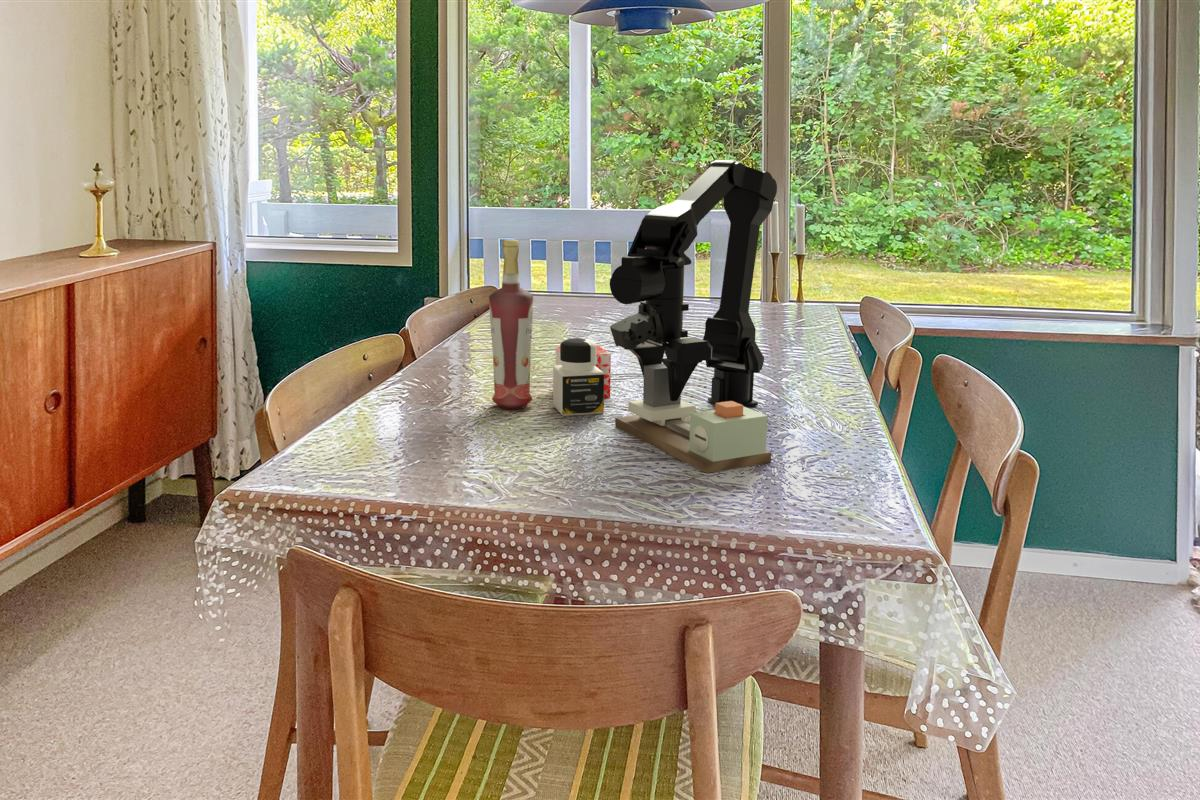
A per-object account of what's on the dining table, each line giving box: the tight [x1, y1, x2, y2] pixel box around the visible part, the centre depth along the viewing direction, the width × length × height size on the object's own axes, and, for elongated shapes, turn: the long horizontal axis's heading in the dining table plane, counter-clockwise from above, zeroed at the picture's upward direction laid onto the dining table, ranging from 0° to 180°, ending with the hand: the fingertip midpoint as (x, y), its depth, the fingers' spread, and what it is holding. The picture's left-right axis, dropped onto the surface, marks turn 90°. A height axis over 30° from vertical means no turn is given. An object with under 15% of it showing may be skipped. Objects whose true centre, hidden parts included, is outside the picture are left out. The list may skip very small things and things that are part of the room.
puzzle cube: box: [555, 344, 612, 399], centre depth 187 cm, size 8×8×8 cm
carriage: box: [627, 363, 696, 426], centre depth 164 cm, size 8×7×8 cm
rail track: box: [614, 414, 772, 474], centre depth 158 cm, size 11×26×2 cm, turn 28°
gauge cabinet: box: [689, 406, 769, 462], centre depth 149 cm, size 9×6×6 cm, turn 118°
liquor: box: [488, 239, 534, 411], centre depth 175 cm, size 7×7×28 cm
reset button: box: [714, 401, 743, 419], centre depth 148 cm, size 3×3×4 cm
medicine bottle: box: [552, 337, 605, 417], centre depth 175 cm, size 7×7×12 cm
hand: (662, 395), depth 164 cm, fingers open, 7 cm apart
